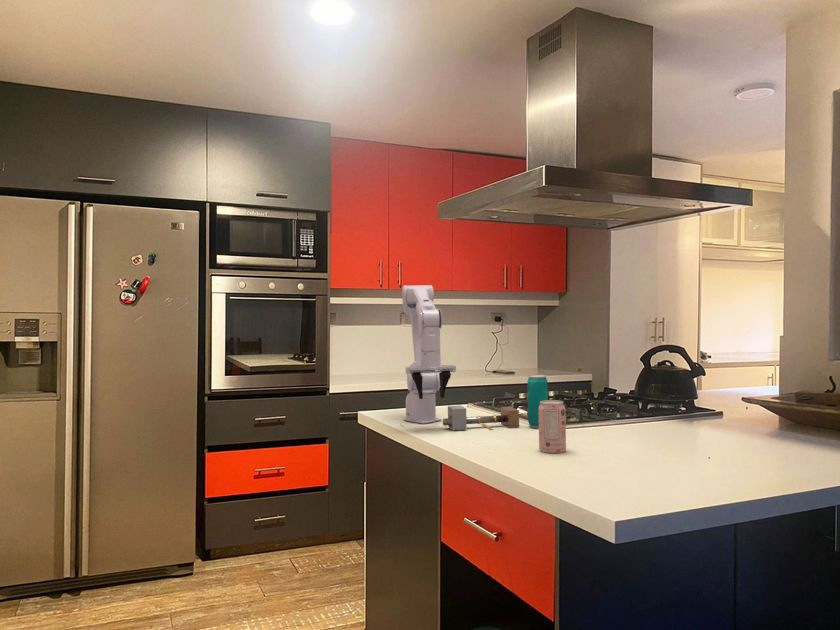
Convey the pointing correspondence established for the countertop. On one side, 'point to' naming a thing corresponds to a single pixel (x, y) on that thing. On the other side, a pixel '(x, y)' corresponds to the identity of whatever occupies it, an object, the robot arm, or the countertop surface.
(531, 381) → the beverage can
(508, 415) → the pipe rig
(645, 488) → the countertop surface
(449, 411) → the sleeve
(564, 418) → the beverage can
